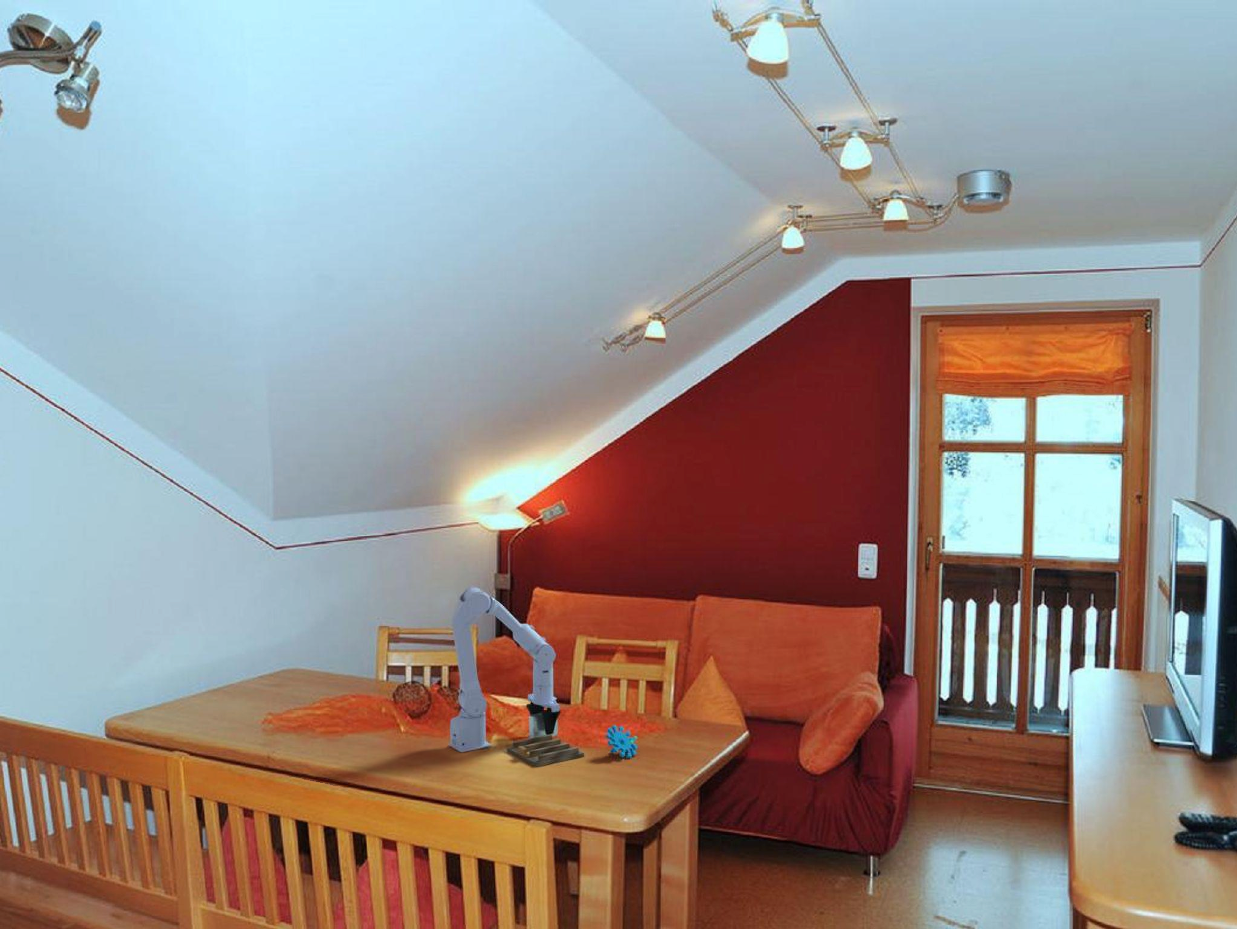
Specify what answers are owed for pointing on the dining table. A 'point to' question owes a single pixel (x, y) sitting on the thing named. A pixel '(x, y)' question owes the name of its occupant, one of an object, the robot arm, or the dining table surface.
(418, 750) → the dining table surface
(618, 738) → the gear
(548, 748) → the slot rack
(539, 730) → the panel
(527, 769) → the dining table surface
